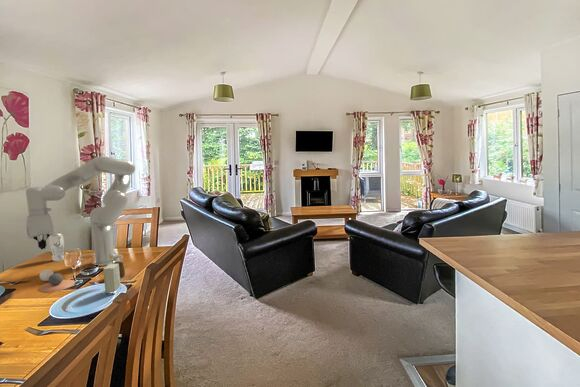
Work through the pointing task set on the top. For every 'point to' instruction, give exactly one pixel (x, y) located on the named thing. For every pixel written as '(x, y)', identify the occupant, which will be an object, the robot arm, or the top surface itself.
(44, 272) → the cue ball
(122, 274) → the utensil holder
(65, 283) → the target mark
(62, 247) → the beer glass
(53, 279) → the object ball
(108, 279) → the skincare box
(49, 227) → the robot arm
